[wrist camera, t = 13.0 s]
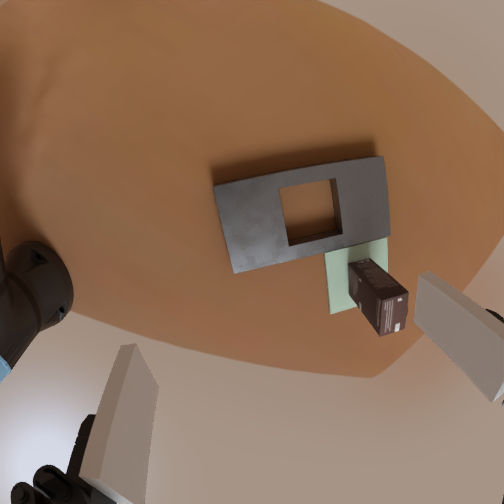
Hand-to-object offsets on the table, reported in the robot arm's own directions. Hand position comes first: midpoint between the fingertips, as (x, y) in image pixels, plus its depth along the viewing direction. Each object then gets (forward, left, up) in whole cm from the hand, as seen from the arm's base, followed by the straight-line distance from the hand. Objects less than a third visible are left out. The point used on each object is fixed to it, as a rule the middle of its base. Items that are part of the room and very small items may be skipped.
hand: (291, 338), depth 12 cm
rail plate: (+9, -2, -29) cm, 30 cm away
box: (+16, -14, -28) cm, 35 cm away
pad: (+16, -14, -29) cm, 36 cm away
